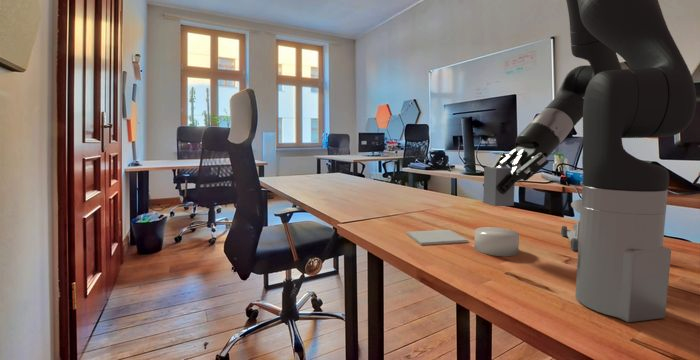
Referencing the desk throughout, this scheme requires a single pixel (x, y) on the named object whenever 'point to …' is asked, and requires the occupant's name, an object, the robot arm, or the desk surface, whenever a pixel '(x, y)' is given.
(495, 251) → the white round part
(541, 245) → the desk surface
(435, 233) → the rubber mat
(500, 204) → the cap block
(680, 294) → the desk surface
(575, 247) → the toy car
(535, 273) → the desk surface
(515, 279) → the desk surface
